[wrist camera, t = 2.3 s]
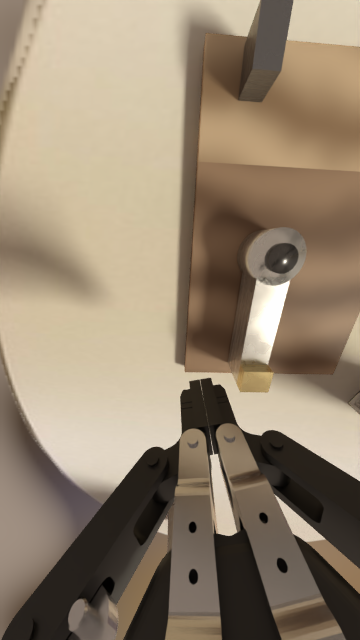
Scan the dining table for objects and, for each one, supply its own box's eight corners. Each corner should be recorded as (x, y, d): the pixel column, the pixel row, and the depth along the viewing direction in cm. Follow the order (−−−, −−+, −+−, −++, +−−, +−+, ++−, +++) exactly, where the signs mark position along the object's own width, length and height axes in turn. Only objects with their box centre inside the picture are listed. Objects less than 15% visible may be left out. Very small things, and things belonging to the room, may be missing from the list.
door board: (203, 49, 14) (206, 33, 13) (446, 70, 15) (468, 56, 14) (184, 366, 25) (185, 371, 23) (325, 368, 25) (332, 374, 24)
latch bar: (241, 228, 17) (263, 224, 13) (288, 231, 17) (325, 227, 13) (221, 363, 23) (232, 391, 18) (256, 364, 23) (276, 392, 19)
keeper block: (244, 45, 13) (261, -4, 10) (269, 47, 13) (293, -1, 11) (238, 100, 14) (252, 68, 12) (261, 102, 14) (281, 71, 12)
